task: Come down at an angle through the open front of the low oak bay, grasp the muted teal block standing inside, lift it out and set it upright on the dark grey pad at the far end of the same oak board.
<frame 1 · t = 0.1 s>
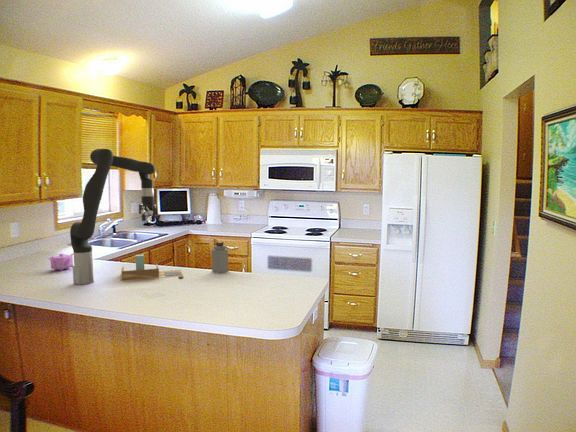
hand: (148, 221, 278), 29 cm above the countertop, tool pointing down, fingers open, 8 cm apart
block: (140, 276, 253), point 1 cm above the countertop, touching stand
perfume bottle: (220, 271, 269), on the countertop
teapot: (63, 269, 275), on the countertop
stand: (140, 278, 253), on the countertop
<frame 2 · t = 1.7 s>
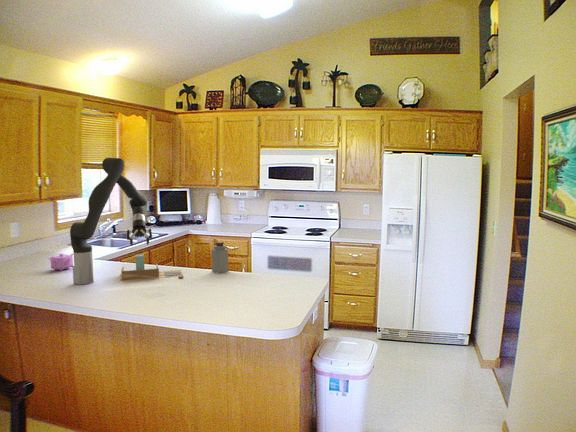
hand: (139, 244, 262), 18 cm above the countertop, tool tilted 45°, fingers open, 8 cm apart
nothing on the countertop moved.
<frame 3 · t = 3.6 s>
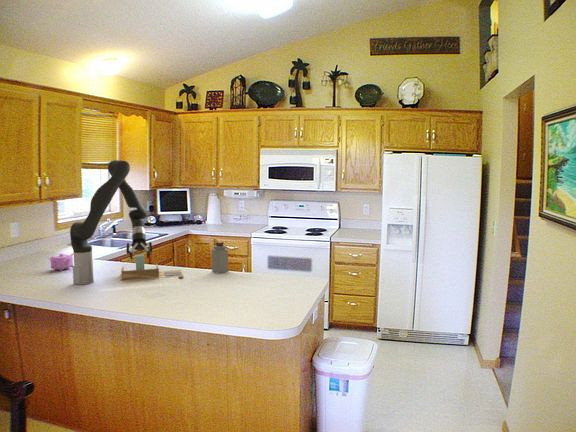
hand: (139, 258, 255), 11 cm above the countertop, tool tilted 45°, fingers open, 8 cm apart
nothing on the countertop moved.
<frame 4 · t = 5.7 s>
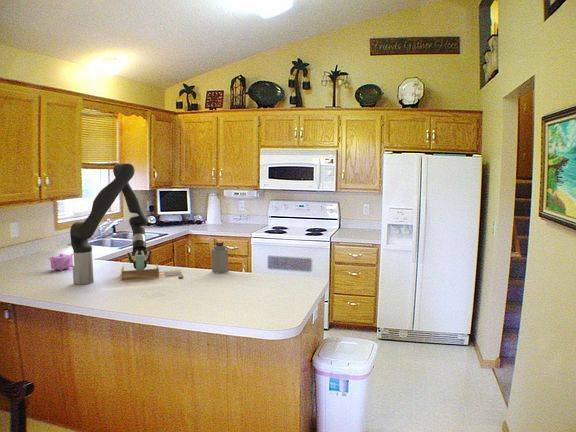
hand: (140, 267, 251), 7 cm above the countertop, tool tilted 45°, fingers closed on block, 4 cm apart
block: (140, 276, 253), point 1 cm above the countertop, touching gripper, stand
everything else where it was.
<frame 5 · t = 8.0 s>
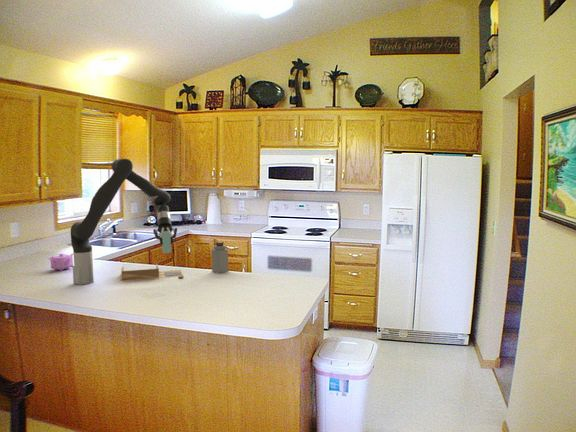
hand: (166, 243, 254), 19 cm above the countertop, tool tilted 45°, fingers closed on block, 4 cm apart
block: (166, 252, 257), point 14 cm above the countertop, touching gripper
everything else where it was.
when the fingers open (8 cm above the countertop, at t = 10.7 s): block drops 1 cm, resting on stand.
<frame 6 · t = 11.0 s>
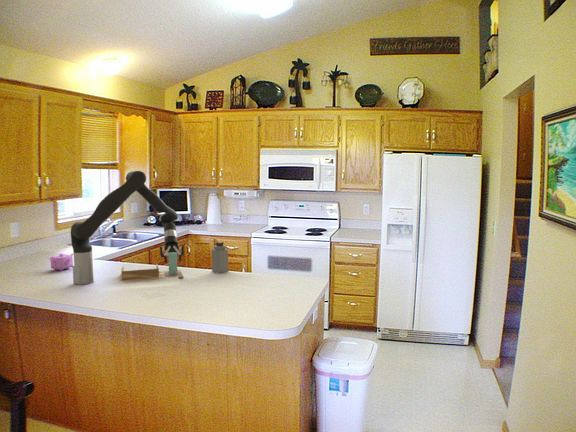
hand: (172, 261, 256), 8 cm above the countertop, tool tilted 45°, fingers open, 7 cm apart
block: (173, 273, 259), point 1 cm above the countertop, touching stand
everything else where it was.
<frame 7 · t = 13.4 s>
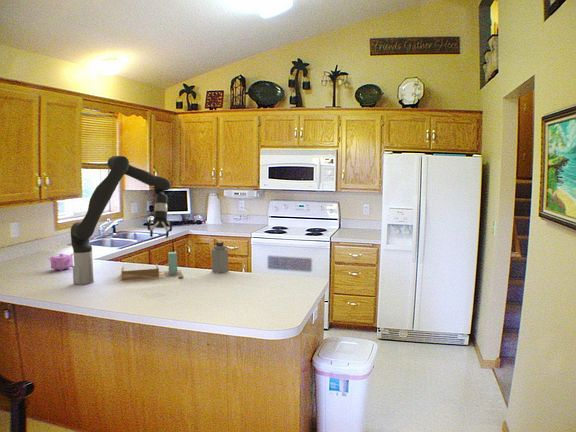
hand: (159, 237, 269), 20 cm above the countertop, tool tilted 20°, fingers open, 8 cm apart
nothing on the countertop moved.
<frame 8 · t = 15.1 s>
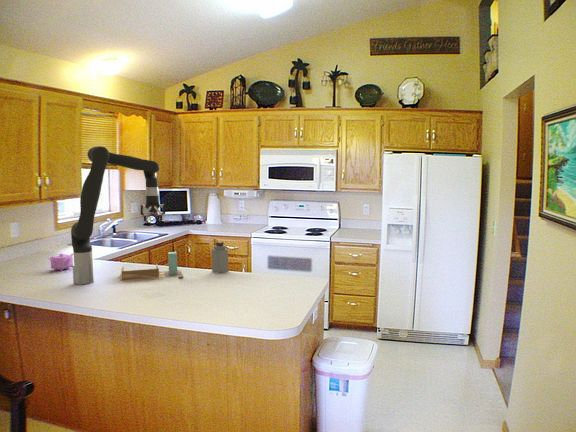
hand: (153, 221, 268), 30 cm above the countertop, tool pointing down, fingers open, 8 cm apart
nothing on the countertop moved.
at the end: block inside the target area (0.1 cm from its centre), point 1.5 cm above the countertop; block tilted 0°; the gripper is holding nothing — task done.
